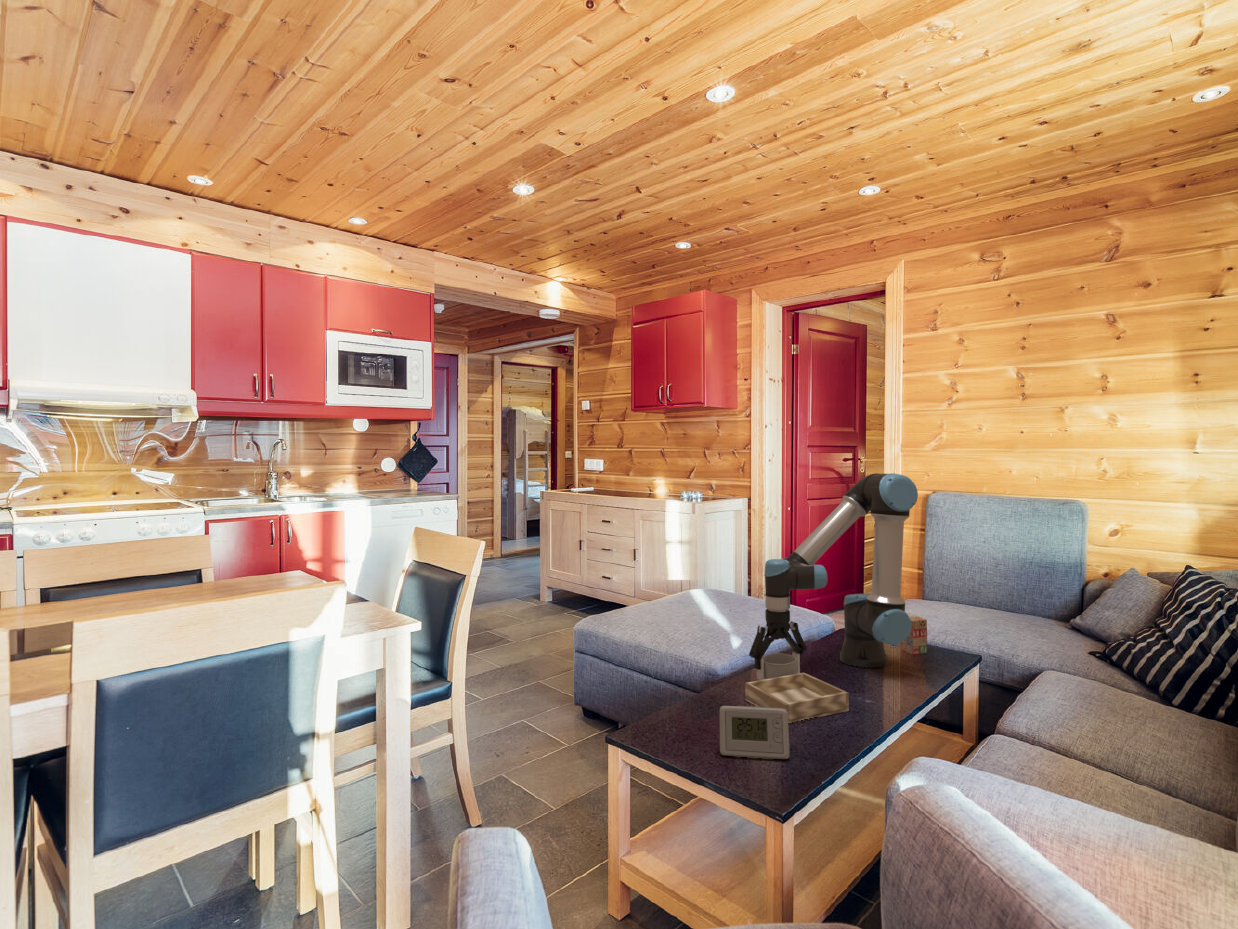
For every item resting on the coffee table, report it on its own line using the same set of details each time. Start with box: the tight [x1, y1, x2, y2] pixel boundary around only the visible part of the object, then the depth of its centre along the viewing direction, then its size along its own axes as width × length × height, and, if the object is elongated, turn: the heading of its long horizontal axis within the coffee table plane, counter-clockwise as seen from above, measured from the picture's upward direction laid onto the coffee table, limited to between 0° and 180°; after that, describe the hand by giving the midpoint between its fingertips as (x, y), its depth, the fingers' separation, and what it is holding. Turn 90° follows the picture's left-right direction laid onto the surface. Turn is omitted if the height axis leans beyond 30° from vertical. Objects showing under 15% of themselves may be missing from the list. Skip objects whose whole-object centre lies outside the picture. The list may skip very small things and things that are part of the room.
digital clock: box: [719, 705, 790, 760], centre depth 151 cm, size 16×9×11 cm, turn 68°
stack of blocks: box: [891, 612, 928, 655], centre depth 236 cm, size 21×6×12 cm, turn 14°
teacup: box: [761, 651, 797, 679], centre depth 200 cm, size 14×11×8 cm
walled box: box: [744, 672, 850, 724], centre depth 180 cm, size 21×19×5 cm
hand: (778, 676), depth 200 cm, fingers open, 13 cm apart
